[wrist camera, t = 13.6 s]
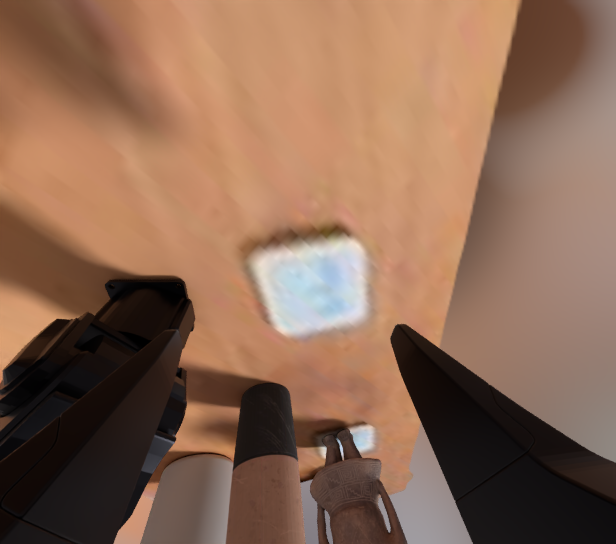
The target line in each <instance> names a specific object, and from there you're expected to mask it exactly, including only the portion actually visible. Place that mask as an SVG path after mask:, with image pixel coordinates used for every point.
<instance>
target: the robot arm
mask: <svg viewBox="0 0 616 544" xmlns="http://www.w3.org/2000/svg"><path fill="white" fill-rule="evenodd" d="M177 284H180V285H181V286H178V285H177ZM112 285H114V286H115V287H114V286H112ZM105 288H106V290H107V292H108V294H109V297H110V300H109V301H108V302H107V303H106V304H105V305H104V306H103V307H102V308H101V310H100V311H99V312H98V313H97V314H96V315H95V316H94V315H92V314H91V313H89V312H87V313H85V314H84V315H82V316H81V317H79V318H75V319H74V320H73V319H71V320H66V319H56V320H55V321H53V322H52V323H50V324H49V325H48V326H47V327H46V328H45V329H43V330H42V331H41V332H40V333H39V334H38V335H37V336H35V337H34V338H33V339H32V340H31V341H30V342H29V343H28V344H27V345H26V346H25V347H24V348H23V349H22V350H21V351H20V352H19V353H18V354H17V355H16V356H15V357H14V358H13V360H12V361H11V362H10V363H9V364H8V365H7V366H6V367H5V368H4V369H3V380H2V382H1V383H0V544H113V543H114V540H115V538H116V535H117V533H118V531H119V529H120V528H121V527H122V526H123V525H124V524H125V523H126V521H127V520H128V519H129V518H130V516H131V515H132V513H133V511H134V509H135V507H136V505H137V503H138V501H139V499H140V497H141V495H142V493H143V491H144V489H145V487H146V485H147V483H148V481H149V479H150V478H151V476H152V474H153V472H154V471H155V469H156V467H157V466H158V464H159V463H160V461H161V460H162V458H163V457H164V455H165V454H166V453H167V452H168V450H169V449H170V448H171V447H172V445H173V444H174V443H175V441H176V437H175V435H176V433H177V432H178V430H179V428H180V426H181V424H182V421H183V418H184V415H185V410H186V407H187V402H186V372H187V371H186V370H184V369H183V368H179V367H178V365H179V361H180V357H181V353H182V349H183V348H184V347H185V344H186V342H187V339H188V336H189V334H190V332H192V331H193V329H194V321H195V315H194V310H193V305H192V301H191V300H190V299H189V298H188V294H187V289H186V285H185V282H184V281H182V280H109V281H108V282H107V283H106V284H105ZM390 340H391V344H392V348H393V351H394V354H395V357H396V360H397V364H398V367H399V370H400V373H401V376H402V378H403V381H404V383H405V385H406V388H407V390H408V392H409V395H410V397H411V399H412V402H413V404H414V406H415V409H416V411H417V413H418V416H419V418H420V420H421V423H422V425H423V427H424V430H425V432H426V434H427V437H428V439H429V441H430V444H431V446H432V448H433V451H434V453H435V455H436V458H437V460H438V462H439V465H440V467H441V469H442V472H443V474H444V476H445V479H446V481H447V484H448V486H449V488H450V491H451V493H452V495H453V497H454V500H455V501H456V502H455V503H456V505H457V507H458V509H459V512H460V514H461V517H462V519H463V521H464V524H465V526H466V528H467V531H468V533H469V535H470V538H471V540H472V542H473V544H616V463H615V462H613V461H610V460H608V459H605V458H603V457H601V456H599V455H597V454H595V453H593V452H591V451H589V450H588V449H586V448H585V447H583V446H581V445H579V444H578V443H577V442H575V441H573V440H572V439H570V438H569V437H567V436H565V435H564V434H563V433H561V432H560V431H558V430H556V429H555V428H553V427H552V426H550V425H549V424H547V423H546V422H544V421H542V420H541V419H539V418H538V417H536V416H534V415H533V414H532V413H530V412H529V411H527V410H526V409H524V408H523V407H521V406H519V405H518V404H517V403H515V402H514V401H512V400H511V399H509V398H508V397H507V396H505V395H504V394H502V393H501V392H499V391H498V390H496V389H495V388H494V387H492V386H491V385H489V384H488V383H487V382H486V381H484V380H483V379H481V378H480V377H479V376H477V375H476V374H474V373H473V372H471V371H470V370H469V369H467V368H466V367H465V366H463V365H462V364H460V363H459V362H458V361H456V360H455V359H453V358H452V357H451V356H449V355H448V354H447V353H445V352H444V351H442V350H441V349H440V348H438V347H437V346H435V345H434V344H433V343H431V342H430V341H428V340H427V339H426V338H424V337H423V336H421V335H420V334H419V333H417V332H416V331H415V330H413V329H412V328H410V327H409V326H408V325H406V324H397V325H396V326H395V328H394V330H393V332H392V335H391V338H390Z"/></svg>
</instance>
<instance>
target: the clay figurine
mask: <svg viewBox="0 0 616 544" xmlns="http://www.w3.org/2000/svg"><path fill="white" fill-rule="evenodd" d="M337 437H338V439H339V440H340V442H341V444H342V447H343V453H344V461H343V460H342V456H341V452H340V448H339V447H340V445H339V443H338V442H337V440H336V438H335V437H334V436H333V435H328V436H326V437H325V438H324V439H323V440H322V441H323V443H324V445H325V446H326V447H327V452H326V462H325V468H323V469H321V470H320V471H319V472H317V474H316V475H315V477H314V479H313V481H312V483H311V486H310V493H311V495H312V497H313V498H314V499H315V501H316V502H317V503H318V504H317V506H318V518H317V524H318V538H319V544H329V542H328V539H327V535H326V523H325V513H324V510H326V511H327V512H328V514H329V516H330V527H331V532H332V537H333V544H407V541H406V538H405V535H404V533H403V530H402V528H401V525H400V522H399V519H398V517H397V514H396V512H395V509H394V507H393V505H392V502H391V500H390V498H389V496H388V494H387V492H386V491H385V488H384V486H383V484H382V483H381V481H380V473H381V461H380V460H379V459H372V458H362V457H361V455H360V453H359V451H358V449H357V448H356V446H355V444H354V442H353V436H352V434H351V433H350V431H349V430H348V429H344V430H342V431H340V432H339V433H338V434H337ZM379 494H380V495H381V498H382V501H383V503H384V506H385V509H386V511H387V514H388V518H389V522H390V527H391V532H390V533H389V532H388V530H387V528H386V525H385V521H384V518H383V515H382V514H381V511H380V509H379V507H378V498H379Z"/></svg>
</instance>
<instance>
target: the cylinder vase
mask: <svg viewBox="0 0 616 544" xmlns="http://www.w3.org/2000/svg"><path fill="white" fill-rule="evenodd" d="M232 473H233V462H232V461H231V460H230V459H229V458H227V457H224V456H221V455H215V454H198V455H192V456H187V457H184V458H181V459H178V460H176V461H174V462H172V463H171V464H170V465H168V466H167V467H166V468H165V470H164V471H163V473H162V475H161V479H160V482H159V485H158V488H157V491H156V495H155V498H154V501H153V504H152V508H151V511H150V514H149V517H148V521H147V524H146V527H145V530H144V534H143V537H142V540H141V543H140V544H226V534H227V523H228V513H229V502H230V491H231V481H232Z"/></svg>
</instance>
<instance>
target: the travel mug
mask: <svg viewBox="0 0 616 544" xmlns="http://www.w3.org/2000/svg"><path fill="white" fill-rule="evenodd" d="M300 488H301V487H300V476H299V465H298V456H297V448H296V440H295V432H294V424H293V416H292V408H291V400H290V394H289V391H288V389H287V388H286V387H284V386H282V385H279V384H274V383H265V384H260V385H256V386H254V387H252V388H250V389H248V390H247V391H246V392H245V393H244V395H243V397H242V401H241V408H240V415H239V423H238V431H237V439H236V447H235V455H234V463H233V473H232V481H231V491H230V502H229V513H228V523H227V534H226V544H305V532H304V521H303V510H302V500H301V489H300Z"/></svg>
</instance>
